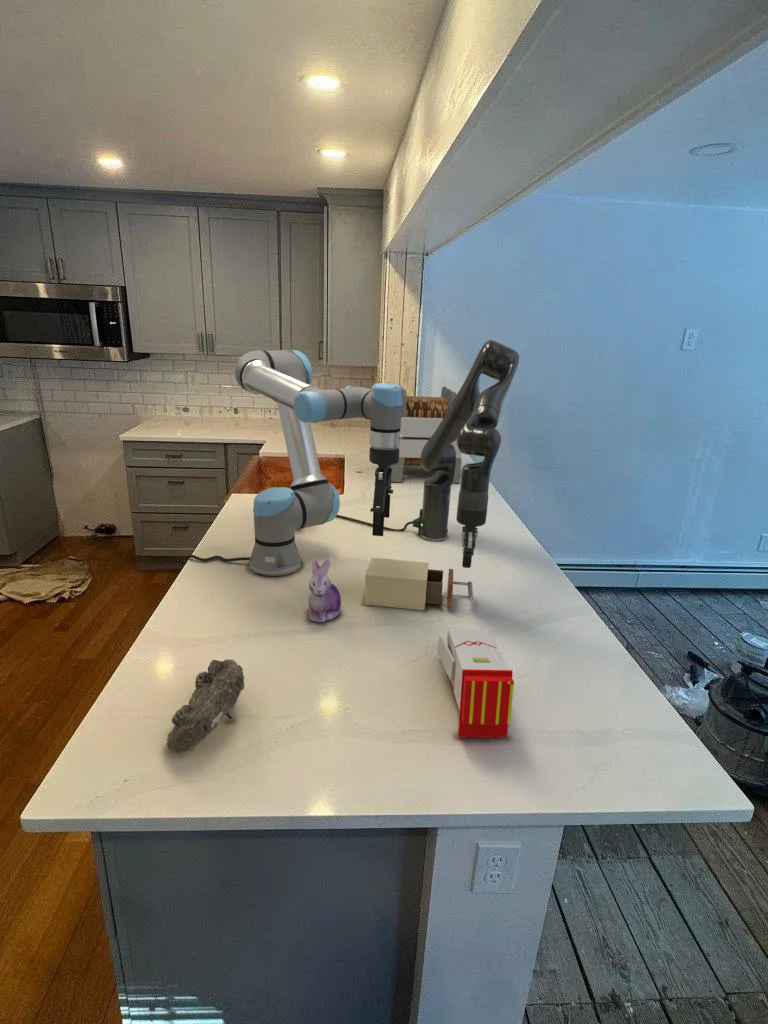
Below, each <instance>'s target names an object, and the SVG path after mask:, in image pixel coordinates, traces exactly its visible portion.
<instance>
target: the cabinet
mask: <svg viewBox="0 0 768 1024" xmlns="http://www.w3.org/2000/svg"><path fill="white" fill-rule="evenodd" d="M429 565H430V564H429V562H425V561H415V560H405V559H404V560H403V559H394V558H393V559H392V558H379V557H370V561H369V563H368V567H367V569H366V573H365V580H364V605H366V606H374V607H375V606H376V607H387V608H396V609H398V608H399V609H407V610H418V611H425V610H426V603H425V599H426V586H427V576H428V569H429Z"/></svg>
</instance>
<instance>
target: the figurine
mask: <svg viewBox="0 0 768 1024" xmlns="http://www.w3.org/2000/svg"><path fill="white" fill-rule="evenodd" d="M330 566H331V558H326V559H325V560H324V562H323V563H322V565H321V566H320V564H319V562H318V561H317V559H313V560H312V562H311V570H312V575H311V577H310V579H309V581H308V588H309V591H310V594H309V596H308V607H309V610H308V615H309V620H310V621H311V622H317V623H323V622H326V621H331V620H333V619H335V618H336V617H338V616H339V615H340V612H341V606H342V597H341V592H340V591H339V589H338V587H337V586H336V585H335V584H333V583H332V581H331V578H330V577H329V575H328V574H329V570H330Z"/></svg>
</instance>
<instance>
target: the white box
mask: <svg viewBox="0 0 768 1024" xmlns="http://www.w3.org/2000/svg"><path fill="white" fill-rule="evenodd" d="M398 385H399V384H398ZM399 386H400V387H401V388H402V401H403V404H402V413H401V430H400V434H399V435H402V436H403V438H402V439H400V446H399V447H398V448H399V450H400V451H399V462H398V463H397V464H395V465H391V469H392V475H391V483H402V482H403V475H404V469H405V466H406V467H407V466H411V467H412V466H413V467H415V466H416V467H417V466H418V467H422V466H421V462H420V457H421V452H422V450H423V448H424V446H425V444H426V443H427V442H428V440H429V439H430V438H431V436H432V435H433V434H434V432H435V431H436V429H437V428H438V426H439V425H440V423H441V421H442V420H443V418H444V416H445V414H446V412H447V410H448V409H449V407H450V405H451V403H452V401H453V400H454V398H455V397H456V395H457V392H455V391H453V390H452V389H451V388H447V386H442V387H441V392H440V393H441V394H440V396H415V395H414V396H413V395H412V396H411V395H407V394H408V393H407V390H406V389H404V388H403V387H402V385H399ZM451 444H452V445H453V446H454V448H455V451H456V466H455V473H454V480H453V484H455V483H456V484H459V483H461V475H462V461H463V460H462V453H461V452H460V451H459V449H458V447H457V440H456V441H454V442H453V443H451Z"/></svg>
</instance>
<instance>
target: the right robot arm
mask: <svg viewBox="0 0 768 1024" xmlns="http://www.w3.org/2000/svg"><path fill="white" fill-rule="evenodd" d="M519 363H520V354H519V352H518V351H517V350H515V349H514V348H511V347H509V346H506V345H505V344H503V343H501V342H498V341H496V340H493V339H488V340H487V341H485V342H484V343H483V345H482V346H481V348H480V349H479V351H478V353H477V355H476V357H475V359H474V361H473V364H472V365H471V367H470V370H469V372H468V374H467V375H466V377H465V380H464V382H463V383H462V385H461V387H460V389H458V392H456V397H455V398H454V400H453V401H452V403H451V405H450V407H449V409H448V410H447V412H446V414H445V416H444V418H443V420H442V421H441V423H440V425H439V426H438V428H437V429H436V431H435V432H434V434H433V435H432V436H431V438H430V439H429V440H428V442H427V443H426V444H425V446H424V448H423V450H422V452H421V457H420V462H421V466H420V467H422V469H423V470H424V471H427V472H434V473H433V475H431V476H429V477H428V478H426V479H425V480H424V482H423V493H422V496H423V497H422V506H421V508H420V509H419V516H418V517H417V518H414V519H413V520H412V521H411V520H410V521H408V522H406V523H405V524H404V526H403V528H399V529H398V528H397V529H396V528H391V527H387V526H384V530H387V531H391V532H404V531H406V529H407V528H408V526H410V525H412V527H413V528H416V529H418V530H417V535H418V536H420V538H421V539H424V540H426V541H432V542H440V541H444V540H446V539H447V538H448V533H449V532H448V531H449V529H448V525H449V517H450V516H449V514H450V504H451V494H452V493H451V491H452V486H453V484H454V483H453V480H454V473H455V466H456V451H455V448H454V446H453V445H452V444H451V443H453V442H454V441H456V440H457V447H458V449H459V451H460V452H461V454H463V455H467V456H477V457H483V459H482V461H479V462H473V463H467V464H465V465H463V466H462V467H461V474H460V486H459V491H458V499H457V508H456V509H457V510H456V521H457V523H458V524H460V525H462V526H461V527H462V528H461V537H462V538H461V543H462V544H461V546H462V562H461V567H462V568H465V569H470V568H471V567H472V560H473V559H472V558H473V556H474V555H475V553H474V552H475V549H476V546H477V545H476V544H477V539H478V536H479V531H478V527H482V526H484V525H485V524H486V523H487V522H486V521H487V514H488V505H489V488H490V487H489V485H490V477H491V473H492V468H493V465H494V462H495V460H496V457H497V455H498V453H499V450H500V448H501V445H502V435H501V433H500V431H499V430H498V429H497V427H498V424H499V420H500V417H501V412H502V407H503V404H504V401H505V399H506V396H507V394H508V392H509V391H510V390H509V389H510V387H511V386H512V385H511V384H512V382H513V379H514V377H515V375H516V372H517V371H518V367H519ZM481 375H484V376H487V377H489V378H491V379H493V380H496V381H498V382H496V383H494V384H493V385H491V386H489V387H487V388H485V389H484V390H482V391H480V380H481ZM335 518H340V519H343V520H348V521H352V522H356V523H360V524H363V525H367V526H370V527H373V523H370V522H368V521H364V520H360V519H356V518H353V517H349V516H346V515H345V516H344V515H340V514H337V516H336V517H335Z"/></svg>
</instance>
